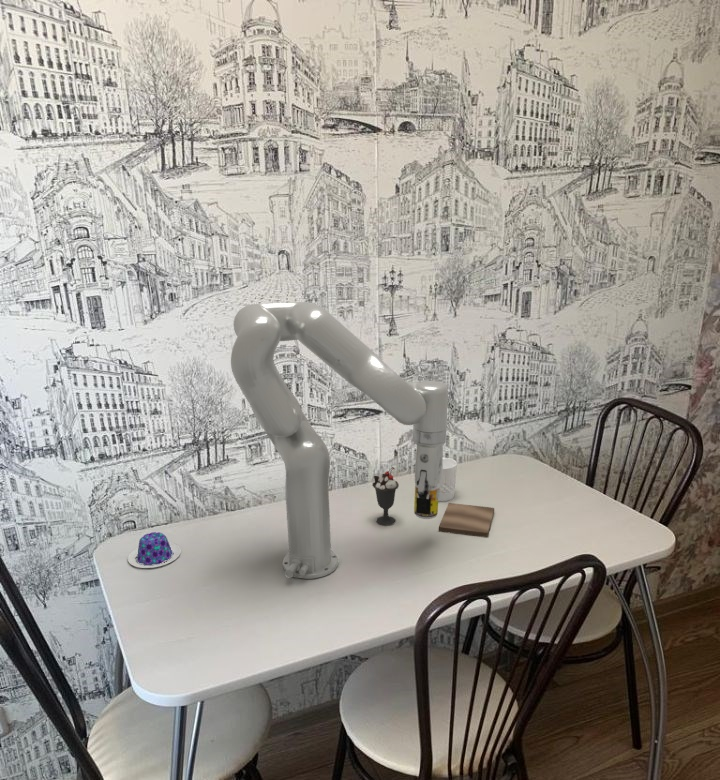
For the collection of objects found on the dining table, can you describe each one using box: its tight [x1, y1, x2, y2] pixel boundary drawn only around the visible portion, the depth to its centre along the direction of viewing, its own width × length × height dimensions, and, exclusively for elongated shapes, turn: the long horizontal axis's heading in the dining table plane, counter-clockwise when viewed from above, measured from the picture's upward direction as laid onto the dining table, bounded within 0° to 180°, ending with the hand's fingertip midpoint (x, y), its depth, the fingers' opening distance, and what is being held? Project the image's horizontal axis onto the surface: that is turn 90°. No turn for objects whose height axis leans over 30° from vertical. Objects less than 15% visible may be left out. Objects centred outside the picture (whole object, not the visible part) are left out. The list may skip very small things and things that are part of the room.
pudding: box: [127, 531, 182, 569], centre depth 160 cm, size 12×12×5 cm
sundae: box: [371, 466, 399, 526], centre depth 173 cm, size 7×7×15 cm
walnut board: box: [438, 502, 495, 538], centre depth 173 cm, size 14×12×1 cm
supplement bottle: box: [413, 483, 439, 520], centre depth 160 cm, size 6×6×10 cm
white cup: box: [438, 456, 458, 502], centre depth 187 cm, size 8×8×10 cm
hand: (426, 506), depth 161 cm, fingers closed on supplement bottle, 5 cm apart
